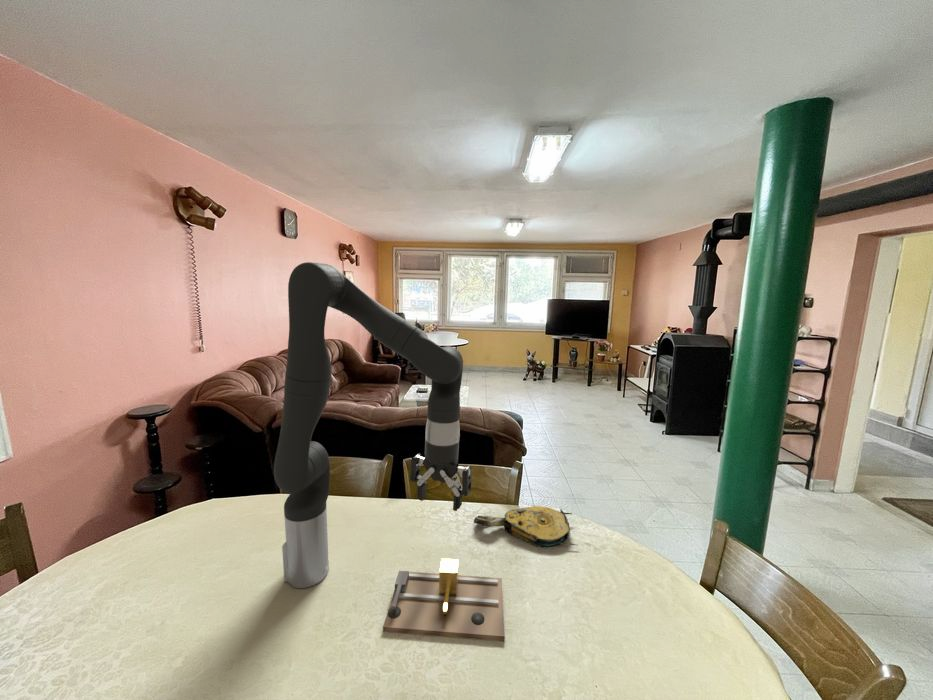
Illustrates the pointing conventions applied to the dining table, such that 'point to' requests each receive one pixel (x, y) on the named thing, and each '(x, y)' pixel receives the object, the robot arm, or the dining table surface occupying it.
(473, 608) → the gauge board
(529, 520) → the pulley block
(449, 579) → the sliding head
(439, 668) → the dining table surface
